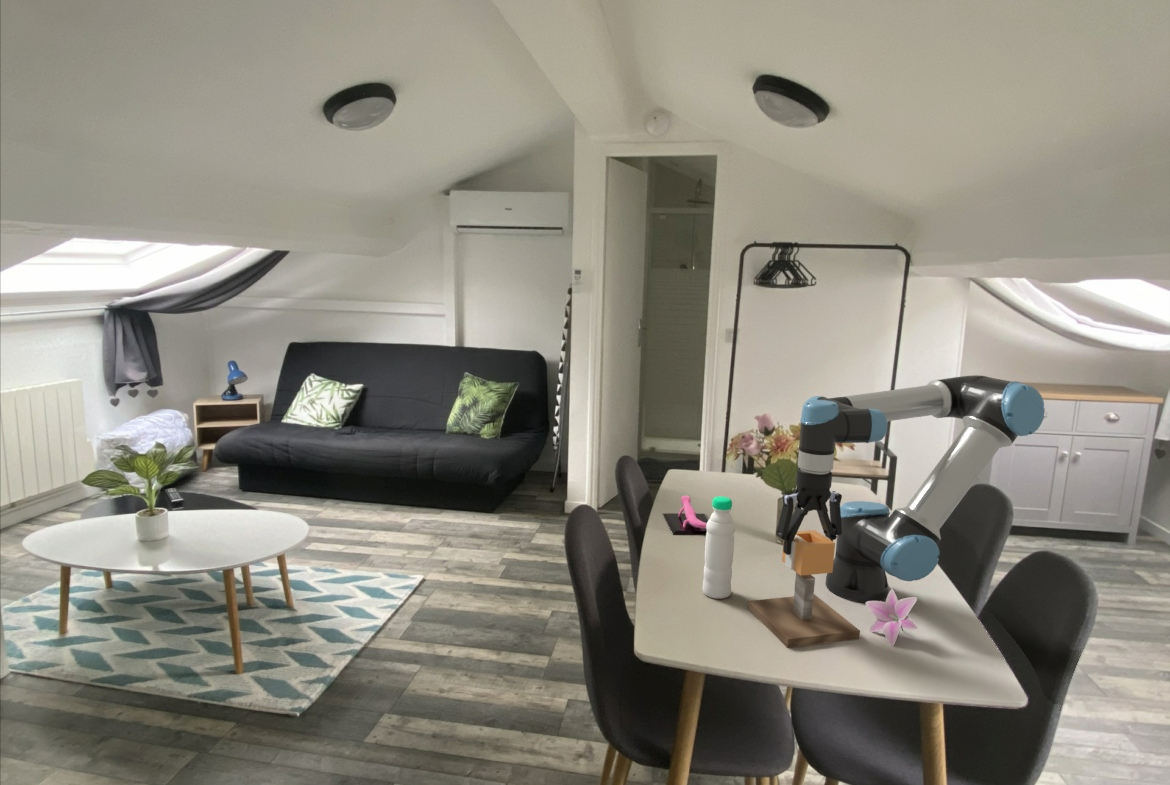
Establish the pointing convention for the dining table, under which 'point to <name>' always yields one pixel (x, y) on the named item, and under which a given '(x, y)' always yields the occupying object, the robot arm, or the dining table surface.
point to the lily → (892, 615)
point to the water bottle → (719, 550)
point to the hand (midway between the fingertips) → (806, 565)
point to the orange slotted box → (812, 553)
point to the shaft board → (803, 628)
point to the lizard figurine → (687, 520)
